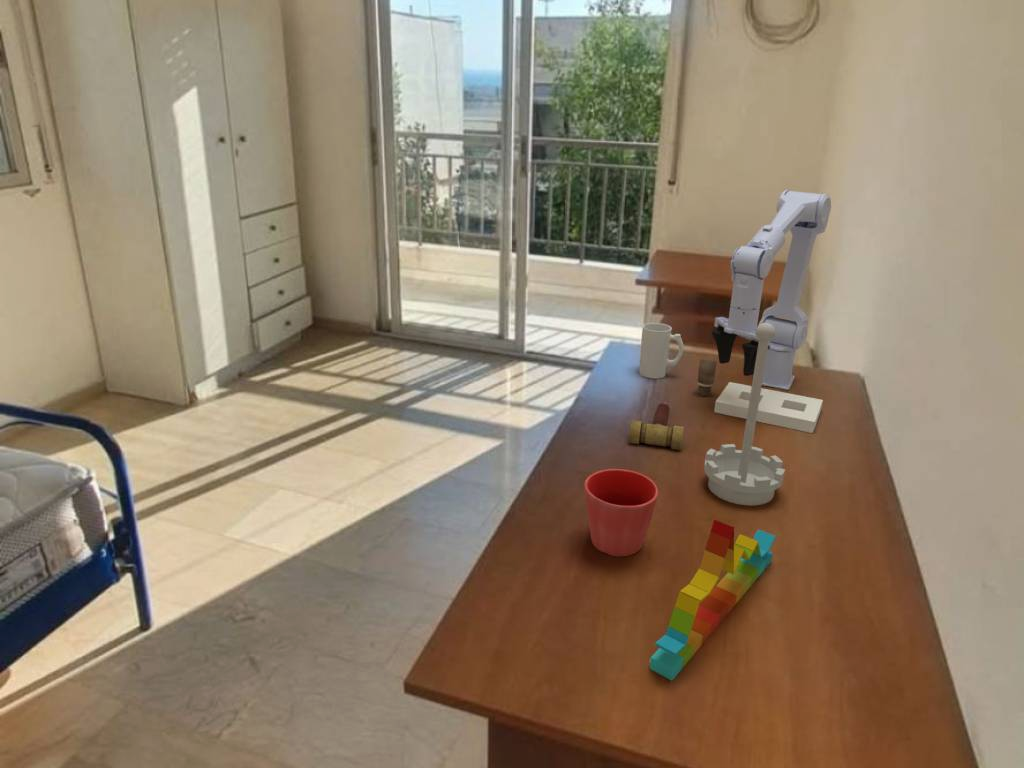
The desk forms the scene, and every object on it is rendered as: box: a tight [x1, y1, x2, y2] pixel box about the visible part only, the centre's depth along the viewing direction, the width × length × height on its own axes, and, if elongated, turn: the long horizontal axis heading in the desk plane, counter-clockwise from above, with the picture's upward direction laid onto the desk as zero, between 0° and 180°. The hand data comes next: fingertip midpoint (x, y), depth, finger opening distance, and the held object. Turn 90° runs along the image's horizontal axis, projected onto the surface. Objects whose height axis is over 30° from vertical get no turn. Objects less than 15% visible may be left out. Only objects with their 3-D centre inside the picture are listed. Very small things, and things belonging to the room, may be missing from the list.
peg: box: [696, 357, 718, 397], centre depth 163 cm, size 4×4×8 cm
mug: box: [639, 322, 685, 380], centre depth 172 cm, size 10×7×12 cm, turn 69°
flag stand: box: [703, 323, 786, 506], centre depth 120 cm, size 13×13×30 cm
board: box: [713, 381, 824, 434], centre depth 156 cm, size 13×20×2 cm, turn 62°
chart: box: [649, 519, 776, 681], centre depth 93 cm, size 30×3×15 cm, turn 140°
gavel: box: [628, 402, 685, 451], centre depth 148 cm, size 21×5×10 cm
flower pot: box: [583, 468, 659, 557], centre depth 108 cm, size 11×11×10 cm
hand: (736, 368), depth 152 cm, fingers open, 7 cm apart
